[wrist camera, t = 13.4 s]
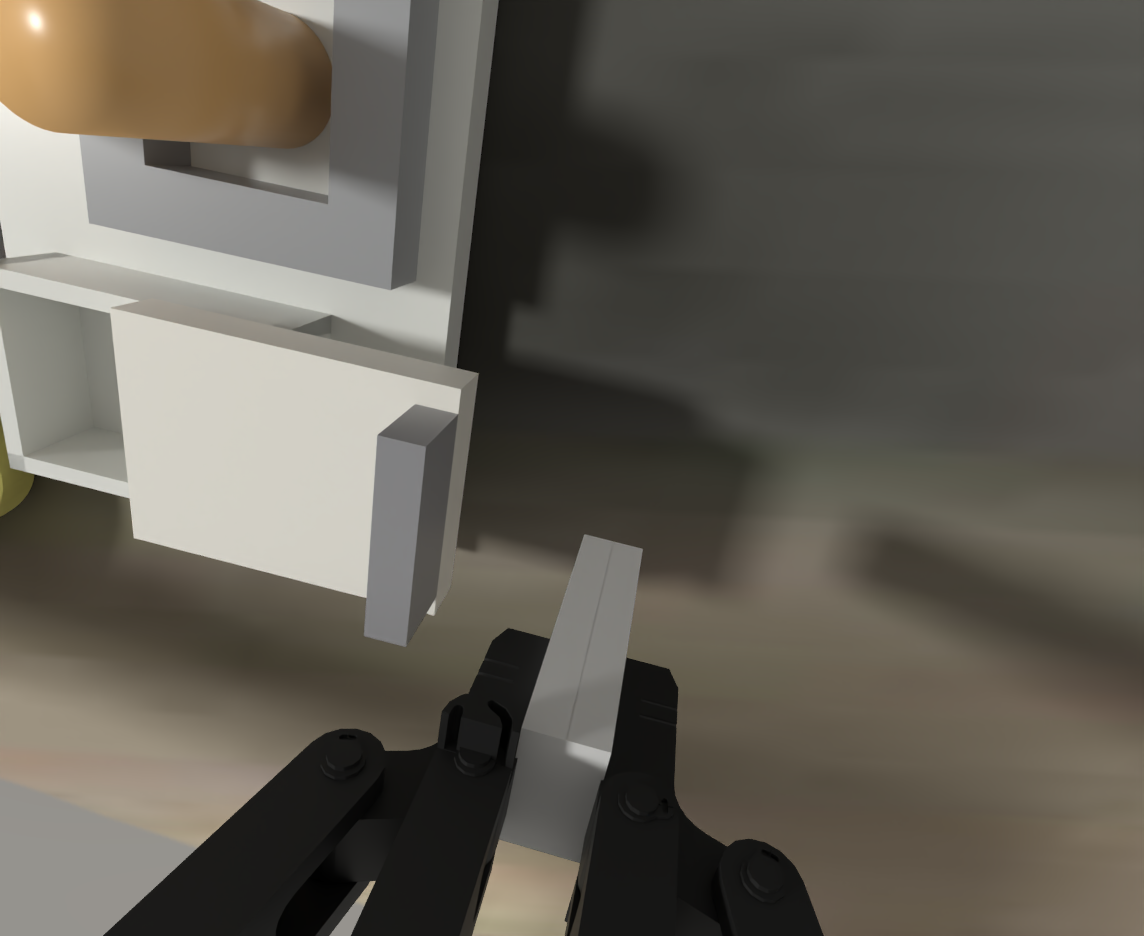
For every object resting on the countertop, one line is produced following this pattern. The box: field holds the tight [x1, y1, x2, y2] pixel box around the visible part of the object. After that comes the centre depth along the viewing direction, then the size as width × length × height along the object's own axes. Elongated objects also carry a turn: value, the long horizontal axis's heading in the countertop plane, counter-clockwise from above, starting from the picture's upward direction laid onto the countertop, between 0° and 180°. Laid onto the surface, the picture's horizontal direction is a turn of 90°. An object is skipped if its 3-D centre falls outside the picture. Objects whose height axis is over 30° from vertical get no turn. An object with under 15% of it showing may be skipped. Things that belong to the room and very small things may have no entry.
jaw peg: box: [0, 0, 332, 149], centre depth 16 cm, size 4×4×8 cm
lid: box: [110, 298, 479, 647], centre depth 19 cm, size 10×7×4 cm
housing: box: [0, 0, 499, 498], centre depth 19 cm, size 16×20×10 cm
